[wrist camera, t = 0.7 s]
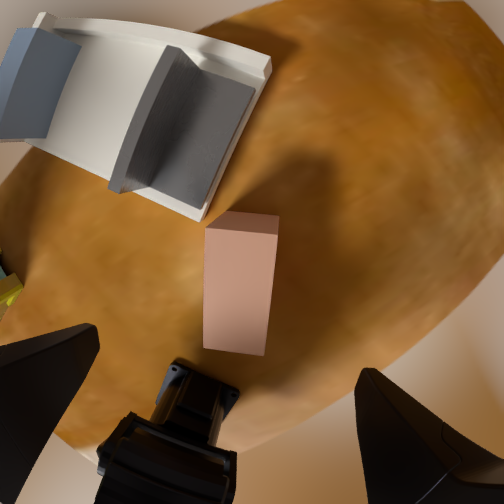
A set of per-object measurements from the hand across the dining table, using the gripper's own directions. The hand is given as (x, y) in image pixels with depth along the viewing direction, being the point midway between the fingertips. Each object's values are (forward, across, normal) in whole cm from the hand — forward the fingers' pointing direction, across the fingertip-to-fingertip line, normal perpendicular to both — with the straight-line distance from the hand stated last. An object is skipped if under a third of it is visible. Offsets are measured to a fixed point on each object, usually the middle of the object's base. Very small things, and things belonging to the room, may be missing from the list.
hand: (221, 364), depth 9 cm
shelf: (+12, +11, -10) cm, 19 cm away
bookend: (+10, +4, -8) cm, 13 cm away
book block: (+12, 0, 0) cm, 12 cm away
